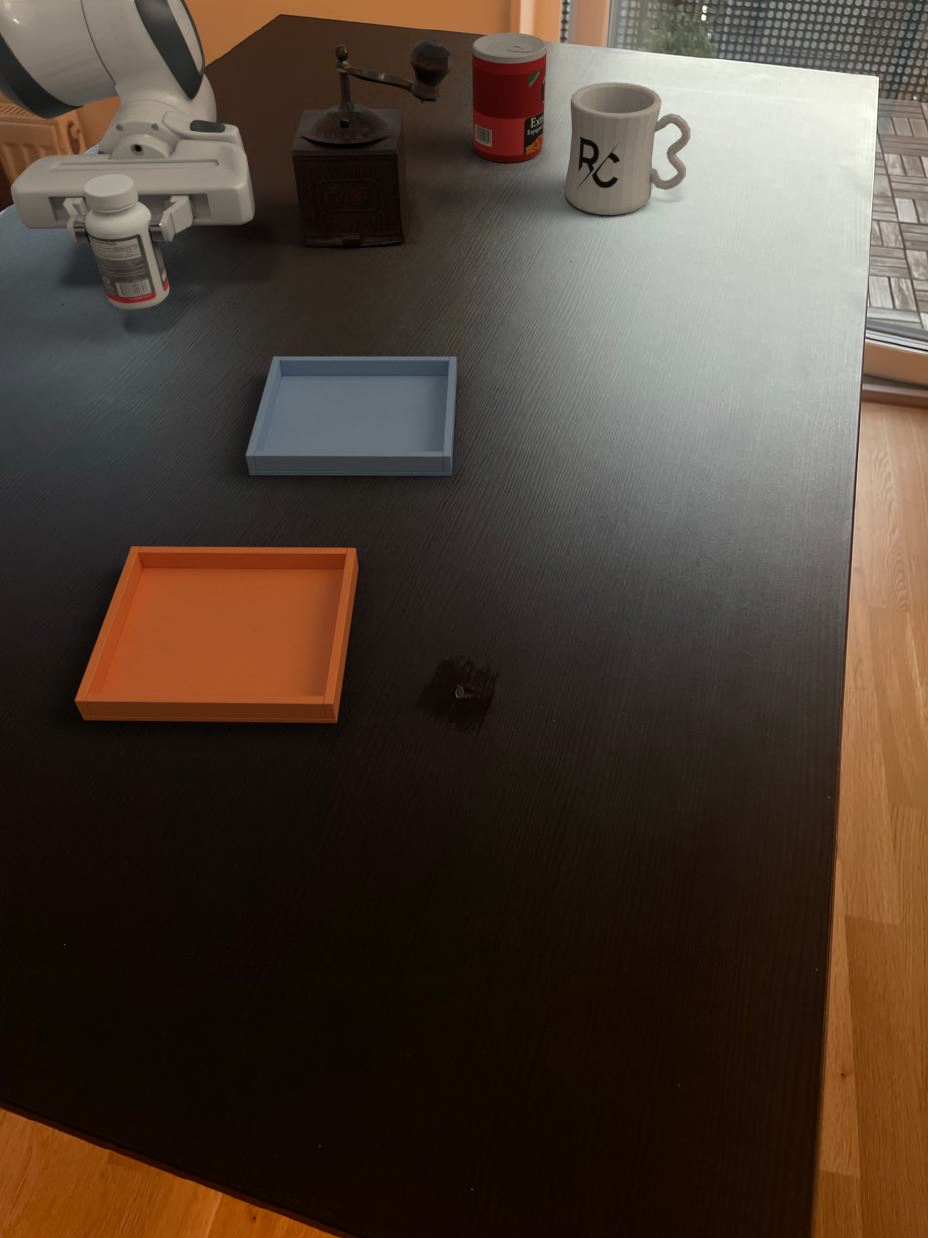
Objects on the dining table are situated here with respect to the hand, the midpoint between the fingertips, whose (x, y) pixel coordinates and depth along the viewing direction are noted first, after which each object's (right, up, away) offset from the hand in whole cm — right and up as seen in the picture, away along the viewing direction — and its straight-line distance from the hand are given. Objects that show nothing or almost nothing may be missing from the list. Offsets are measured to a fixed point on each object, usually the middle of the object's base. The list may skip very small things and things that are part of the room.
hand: (119, 234), depth 82 cm
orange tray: (+13, -33, -18) cm, 40 cm away
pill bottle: (0, -4, +5) cm, 6 cm away
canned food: (+33, +22, +32) cm, 51 cm away
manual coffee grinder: (+20, +9, +21) cm, 30 cm away
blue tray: (+20, -16, -3) cm, 26 cm away
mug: (+45, +12, +23) cm, 52 cm away
